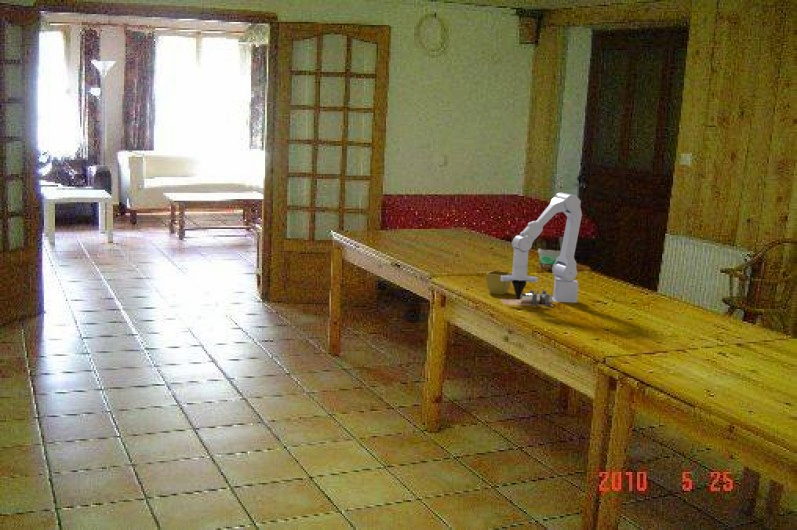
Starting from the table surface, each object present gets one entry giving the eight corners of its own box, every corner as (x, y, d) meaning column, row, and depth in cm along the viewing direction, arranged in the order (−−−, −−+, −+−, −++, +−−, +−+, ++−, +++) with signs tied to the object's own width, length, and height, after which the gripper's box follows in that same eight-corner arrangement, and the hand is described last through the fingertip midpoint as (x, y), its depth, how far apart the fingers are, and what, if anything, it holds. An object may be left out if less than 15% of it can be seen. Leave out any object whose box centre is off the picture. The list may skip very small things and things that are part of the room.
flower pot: (484, 294, 344) (485, 273, 342) (492, 290, 351) (493, 269, 350) (504, 297, 340) (505, 275, 338) (511, 293, 347) (513, 272, 346)
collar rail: (545, 300, 335) (546, 289, 334) (550, 306, 325) (551, 295, 324) (527, 299, 335) (528, 289, 334) (531, 305, 325) (532, 294, 324)
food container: (534, 269, 402) (536, 249, 400) (536, 267, 408) (538, 247, 406) (560, 272, 399) (562, 251, 397) (561, 270, 405) (563, 249, 403)
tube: (549, 300, 332) (550, 292, 330) (551, 305, 329) (552, 297, 327) (520, 299, 331) (521, 291, 330) (521, 304, 328) (522, 296, 326)
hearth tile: (548, 301, 335) (548, 300, 335) (553, 307, 325) (553, 306, 325) (499, 299, 335) (499, 298, 335) (503, 305, 325) (503, 304, 325)
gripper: (503, 266, 323) (501, 300, 325) (540, 268, 323) (537, 302, 326) (500, 263, 330) (498, 296, 332) (536, 264, 330) (534, 297, 333)
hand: (517, 299), depth 330 cm, fingers closed
